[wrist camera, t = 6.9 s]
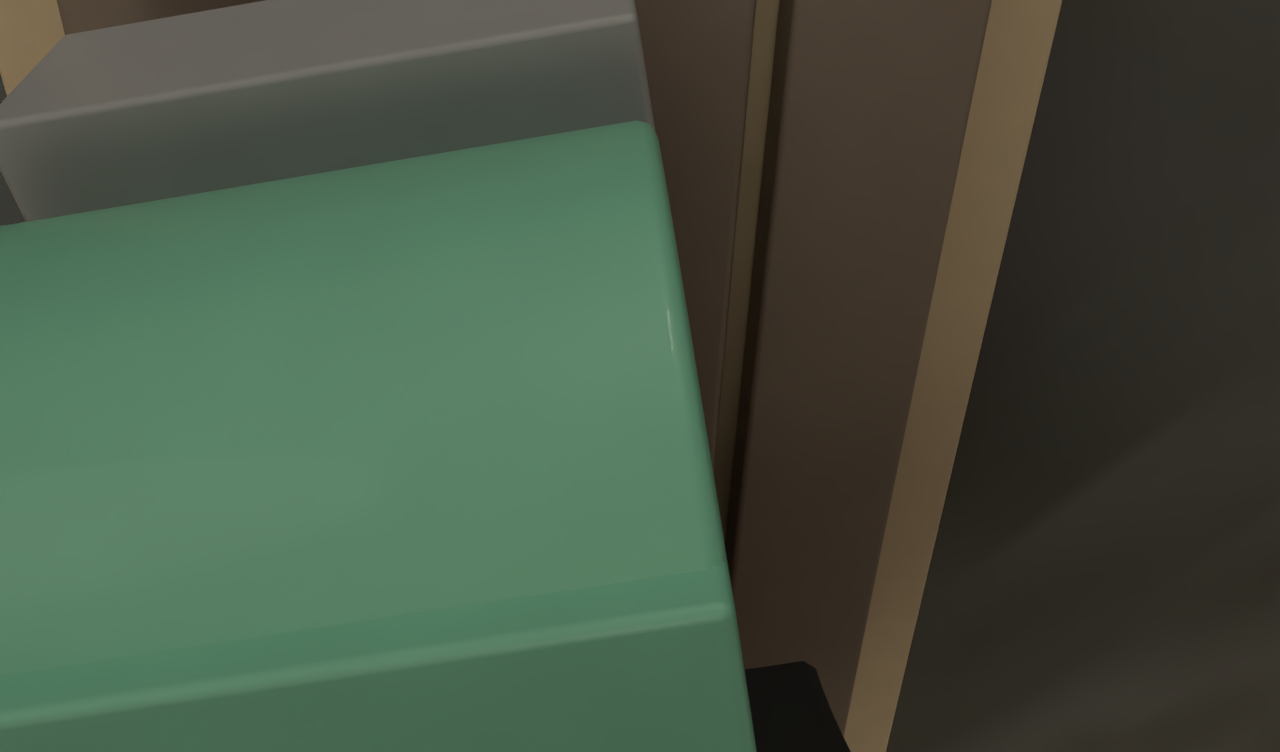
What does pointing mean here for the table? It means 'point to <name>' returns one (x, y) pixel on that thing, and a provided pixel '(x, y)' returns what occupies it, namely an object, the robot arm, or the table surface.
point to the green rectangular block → (354, 392)
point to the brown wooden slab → (810, 283)
